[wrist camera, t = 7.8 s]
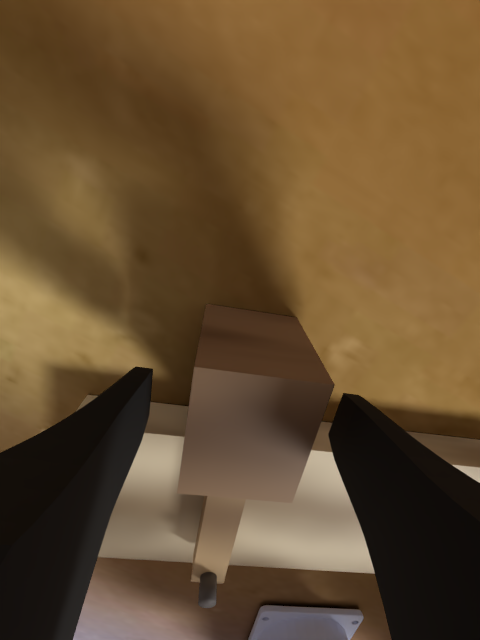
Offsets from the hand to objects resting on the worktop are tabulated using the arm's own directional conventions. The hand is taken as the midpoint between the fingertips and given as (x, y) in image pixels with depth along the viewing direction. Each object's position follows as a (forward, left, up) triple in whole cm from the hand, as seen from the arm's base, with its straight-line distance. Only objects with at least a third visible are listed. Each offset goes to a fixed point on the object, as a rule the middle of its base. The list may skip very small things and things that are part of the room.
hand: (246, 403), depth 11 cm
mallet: (-4, 0, -3) cm, 5 cm away
